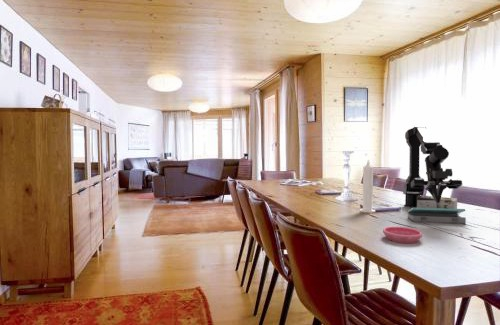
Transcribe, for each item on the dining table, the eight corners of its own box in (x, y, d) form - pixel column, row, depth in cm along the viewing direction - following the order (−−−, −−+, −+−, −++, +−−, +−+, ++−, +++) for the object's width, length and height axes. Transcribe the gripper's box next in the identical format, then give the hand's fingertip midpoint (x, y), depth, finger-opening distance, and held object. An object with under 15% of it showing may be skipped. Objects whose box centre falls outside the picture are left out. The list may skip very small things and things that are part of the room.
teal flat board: (407, 217, 148) (407, 212, 148) (457, 219, 145) (457, 213, 145) (413, 222, 140) (413, 216, 140) (466, 224, 136) (466, 218, 136)
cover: (407, 212, 148) (407, 210, 148) (457, 213, 145) (457, 211, 145) (413, 209, 141) (413, 207, 141) (465, 210, 137) (465, 209, 137)
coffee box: (454, 200, 154) (416, 197, 164) (454, 214, 155) (416, 210, 165) (457, 197, 162) (420, 194, 172) (457, 211, 162) (420, 207, 172)
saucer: (388, 232, 124) (389, 224, 124) (425, 238, 117) (426, 230, 116) (377, 240, 115) (377, 231, 115) (417, 247, 107) (417, 237, 107)
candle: (376, 213, 158) (377, 160, 156) (360, 212, 159) (361, 160, 158) (373, 210, 165) (374, 159, 163) (358, 209, 166) (359, 159, 165)
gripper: (416, 161, 140) (420, 197, 134) (465, 161, 136) (471, 198, 131) (408, 170, 150) (412, 204, 144) (454, 170, 146) (459, 205, 141)
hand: (438, 203), depth 140 cm, fingers closed
